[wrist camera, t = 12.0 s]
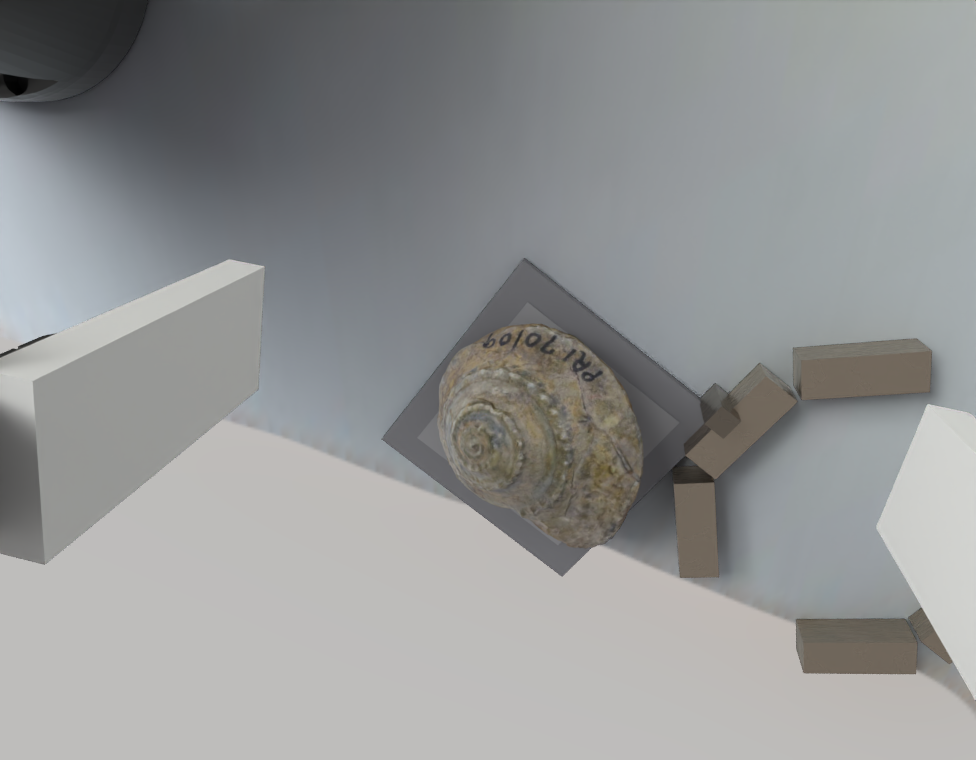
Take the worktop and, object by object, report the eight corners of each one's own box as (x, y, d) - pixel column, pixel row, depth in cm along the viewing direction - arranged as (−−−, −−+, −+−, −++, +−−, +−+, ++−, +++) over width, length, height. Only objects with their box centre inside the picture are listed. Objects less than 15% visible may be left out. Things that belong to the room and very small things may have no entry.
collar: (601, 497, 42) (599, 527, 40) (830, 266, 36) (847, 281, 33) (869, 705, 44) (886, 748, 41) (1132, 517, 38) (1174, 552, 35)
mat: (384, 434, 44) (380, 440, 43) (524, 257, 39) (522, 260, 38) (563, 570, 45) (562, 577, 44) (720, 414, 40) (722, 420, 39)
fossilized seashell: (580, 284, 36) (571, 385, 31) (682, 422, 41) (688, 528, 36) (410, 365, 41) (379, 463, 36) (519, 478, 47) (505, 578, 42)
